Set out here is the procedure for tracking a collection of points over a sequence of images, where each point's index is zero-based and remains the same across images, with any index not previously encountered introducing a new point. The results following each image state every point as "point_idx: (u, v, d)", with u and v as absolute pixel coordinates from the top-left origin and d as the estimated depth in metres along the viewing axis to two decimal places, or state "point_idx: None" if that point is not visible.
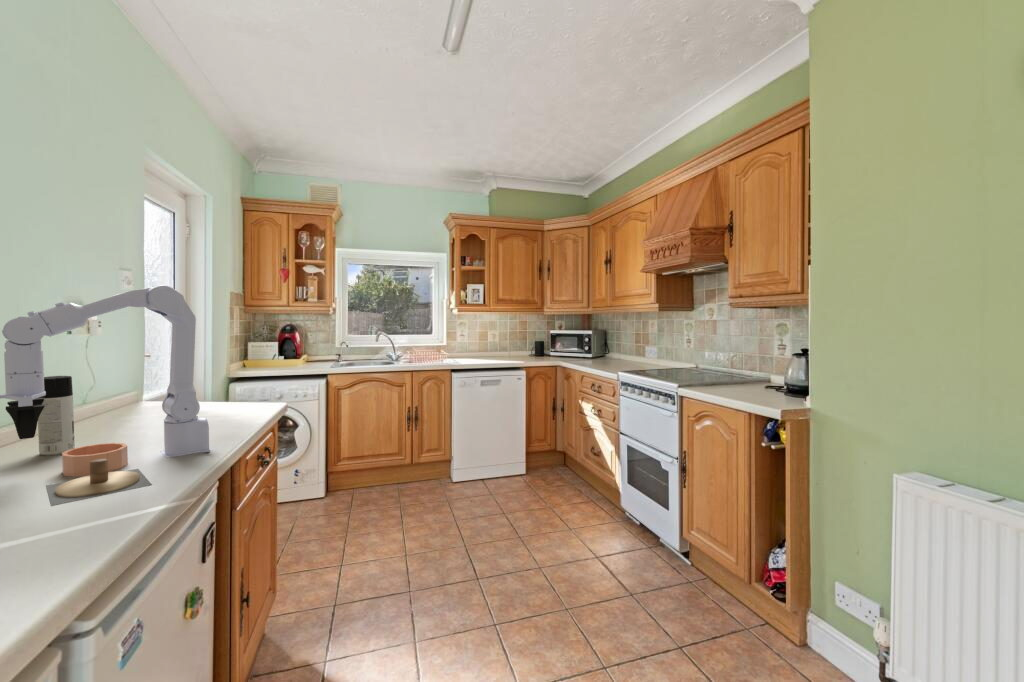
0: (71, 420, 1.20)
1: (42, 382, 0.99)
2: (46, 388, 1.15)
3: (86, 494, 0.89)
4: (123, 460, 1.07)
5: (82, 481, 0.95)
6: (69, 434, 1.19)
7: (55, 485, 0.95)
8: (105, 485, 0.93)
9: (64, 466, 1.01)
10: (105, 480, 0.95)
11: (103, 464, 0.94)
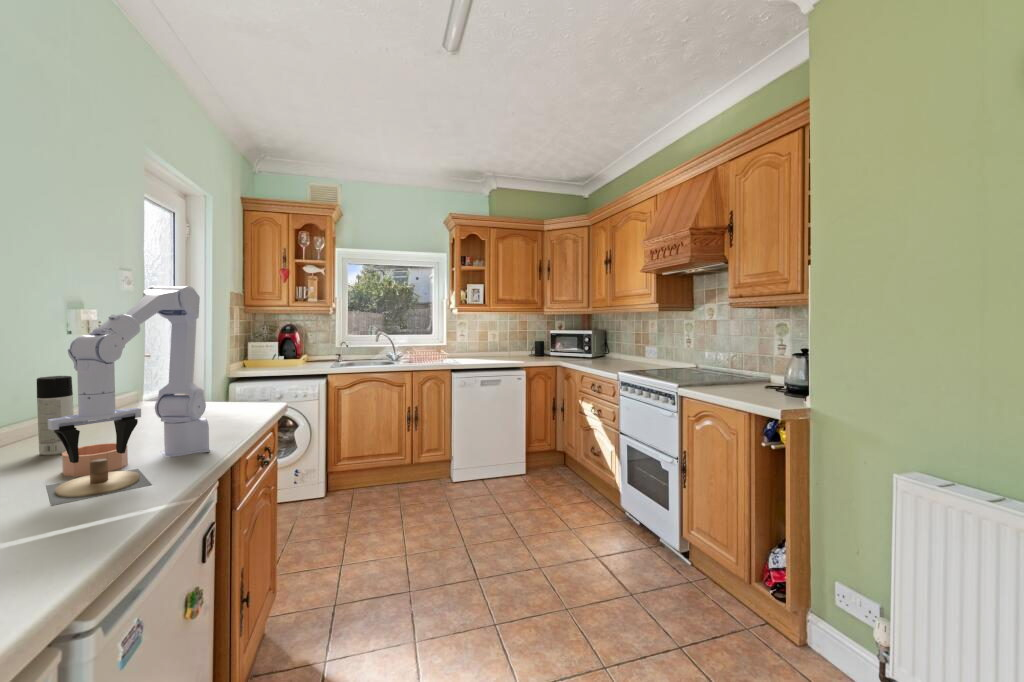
0: None
1: (95, 405, 0.92)
2: (46, 388, 1.15)
3: (86, 494, 0.89)
4: (123, 460, 1.07)
5: (82, 481, 0.95)
6: None
7: (55, 485, 0.95)
8: (105, 485, 0.93)
9: (64, 466, 1.01)
10: (105, 480, 0.95)
11: (103, 464, 0.94)
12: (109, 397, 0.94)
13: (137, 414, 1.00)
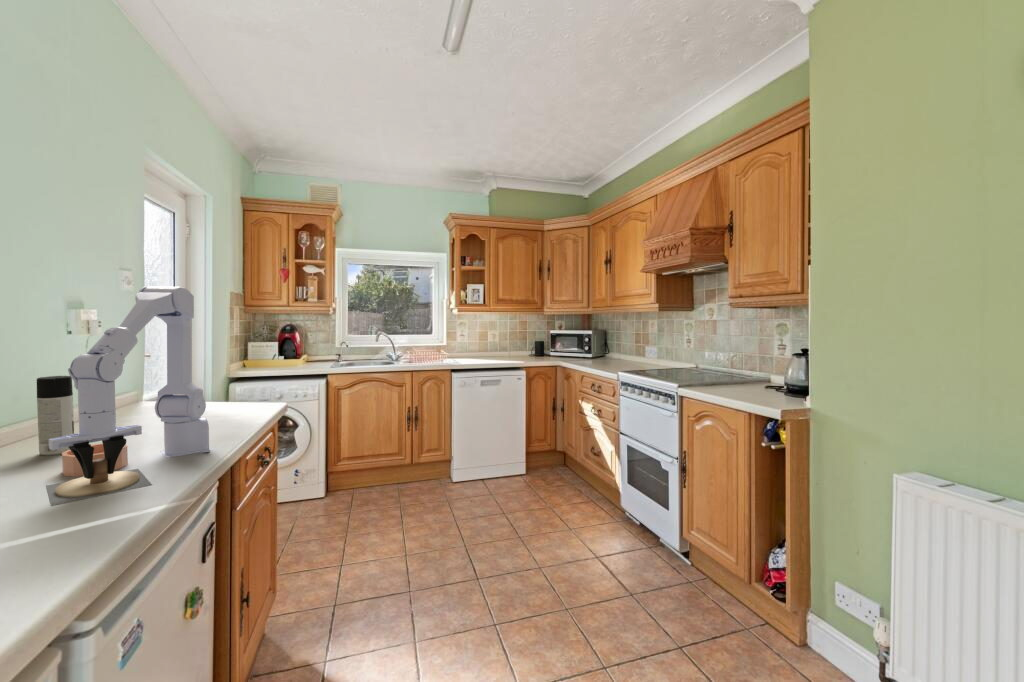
0: (71, 420, 1.20)
1: (96, 424, 0.92)
2: (46, 388, 1.15)
3: (86, 494, 0.89)
4: (123, 460, 1.07)
5: (82, 481, 0.95)
6: (69, 434, 1.19)
7: (55, 485, 0.95)
8: (105, 485, 0.93)
9: (64, 466, 1.01)
10: (105, 480, 0.95)
11: (103, 464, 0.94)
12: (110, 415, 0.94)
13: (138, 431, 1.00)
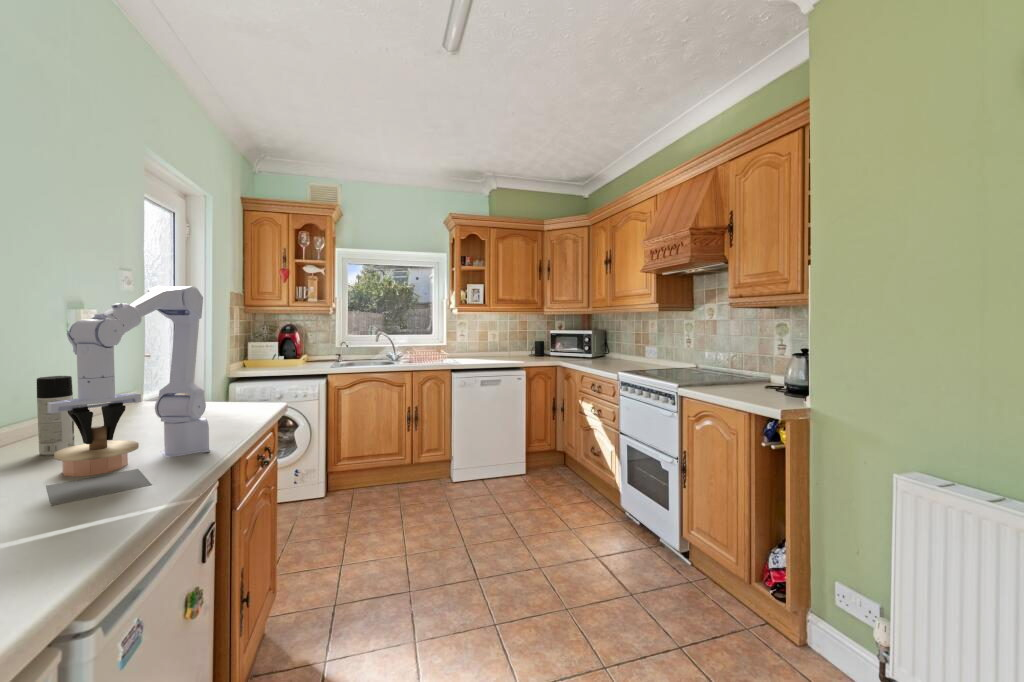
0: (71, 420, 1.20)
1: (95, 389, 0.92)
2: (46, 388, 1.15)
3: (85, 458, 0.89)
4: (123, 460, 1.07)
5: (81, 448, 0.95)
6: (69, 434, 1.19)
7: (55, 485, 0.95)
8: (104, 451, 0.93)
9: (64, 466, 1.01)
10: (104, 447, 0.95)
11: (102, 430, 0.94)
12: (109, 381, 0.94)
13: (137, 399, 1.00)
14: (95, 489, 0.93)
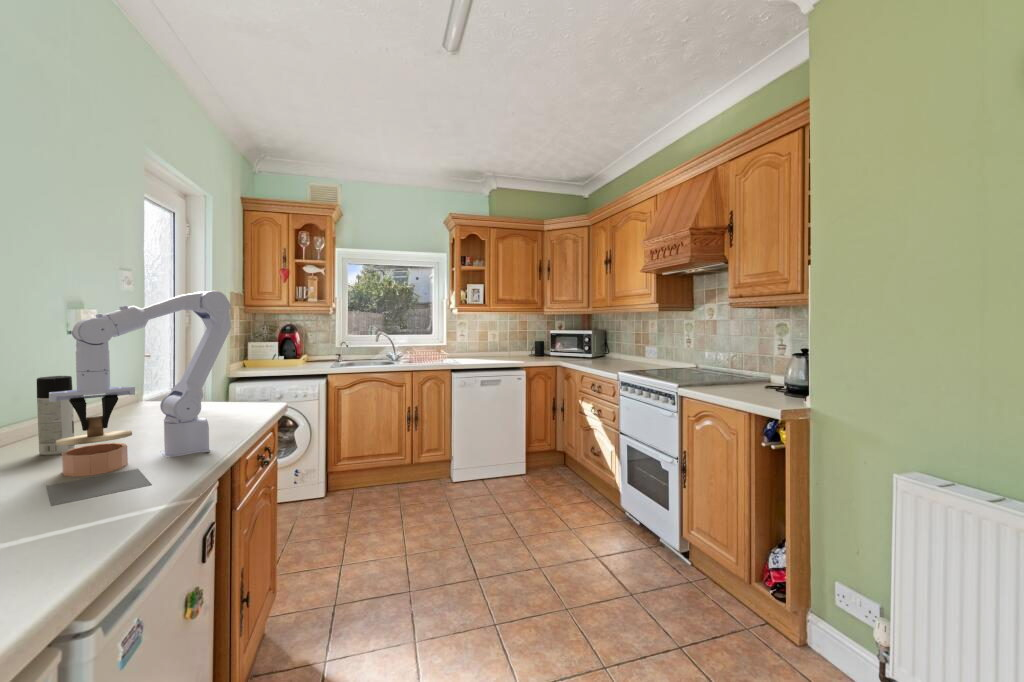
0: (71, 420, 1.20)
1: (88, 382, 1.02)
2: (46, 388, 1.15)
3: (75, 443, 0.99)
4: (123, 460, 1.07)
5: (83, 436, 1.06)
6: (69, 434, 1.19)
7: (55, 485, 0.95)
8: (95, 437, 1.02)
9: (64, 466, 1.01)
10: (99, 434, 1.05)
11: (96, 419, 1.04)
12: (101, 375, 1.04)
13: (131, 392, 1.09)
14: (95, 489, 0.93)
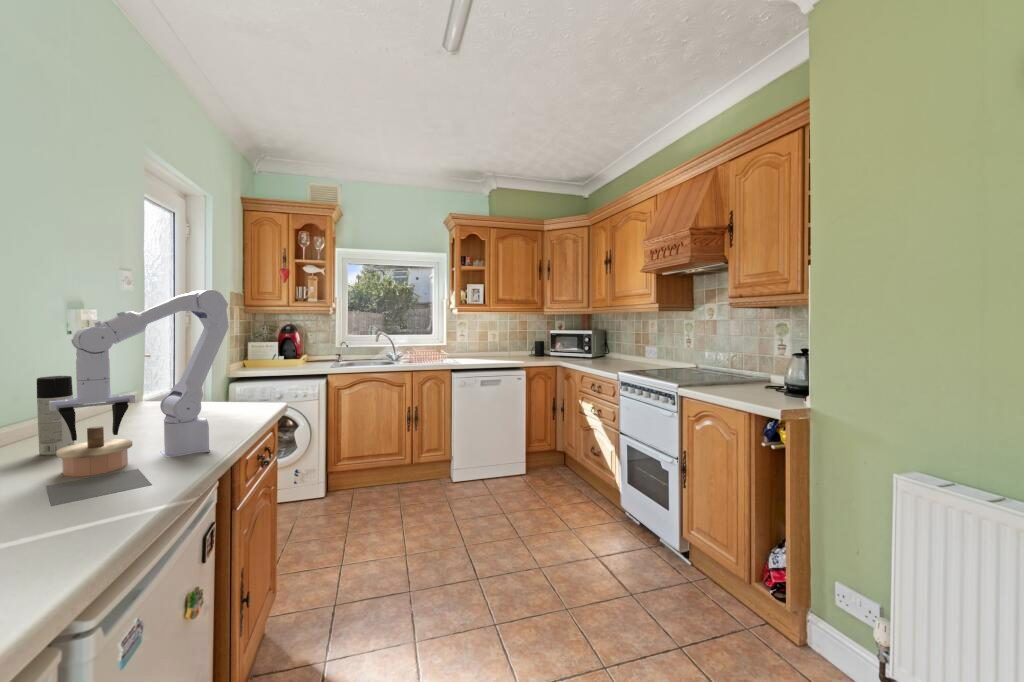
0: None
1: (88, 390, 1.02)
2: (46, 388, 1.15)
3: (75, 456, 0.99)
4: (123, 460, 1.07)
5: (84, 445, 1.06)
6: (69, 434, 1.19)
7: (55, 485, 0.95)
8: (96, 450, 1.02)
9: (64, 466, 1.01)
10: (99, 445, 1.05)
11: (97, 431, 1.04)
12: (101, 383, 1.04)
13: (131, 400, 1.09)
14: (95, 489, 0.93)
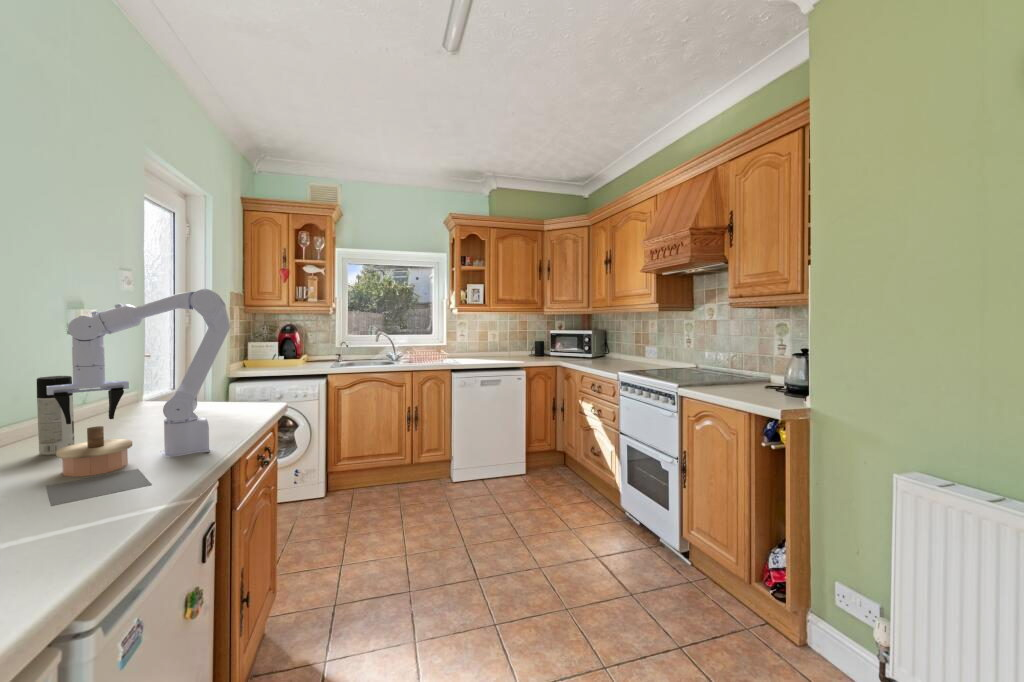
0: (71, 420, 1.20)
1: (83, 376, 1.07)
2: (46, 388, 1.15)
3: (75, 456, 0.99)
4: (123, 460, 1.07)
5: (84, 445, 1.06)
6: (69, 434, 1.19)
7: (55, 485, 0.95)
8: (96, 450, 1.02)
9: (64, 466, 1.01)
10: (99, 445, 1.05)
11: (97, 431, 1.04)
12: (96, 370, 1.09)
13: (125, 386, 1.14)
14: (95, 489, 0.93)
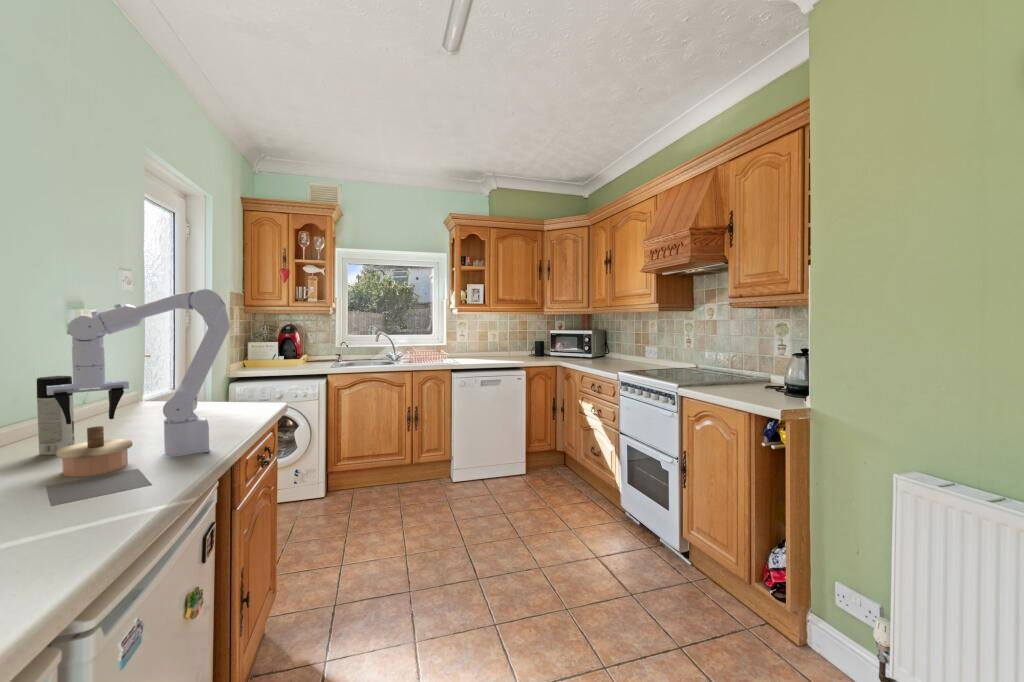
0: (71, 420, 1.20)
1: (83, 376, 1.08)
2: (46, 388, 1.15)
3: (75, 456, 0.99)
4: (123, 460, 1.07)
5: (84, 445, 1.06)
6: (69, 434, 1.19)
7: (55, 485, 0.95)
8: (96, 450, 1.02)
9: (64, 466, 1.01)
10: (99, 445, 1.05)
11: (97, 431, 1.04)
12: (96, 370, 1.09)
13: (125, 386, 1.15)
14: (95, 489, 0.93)
